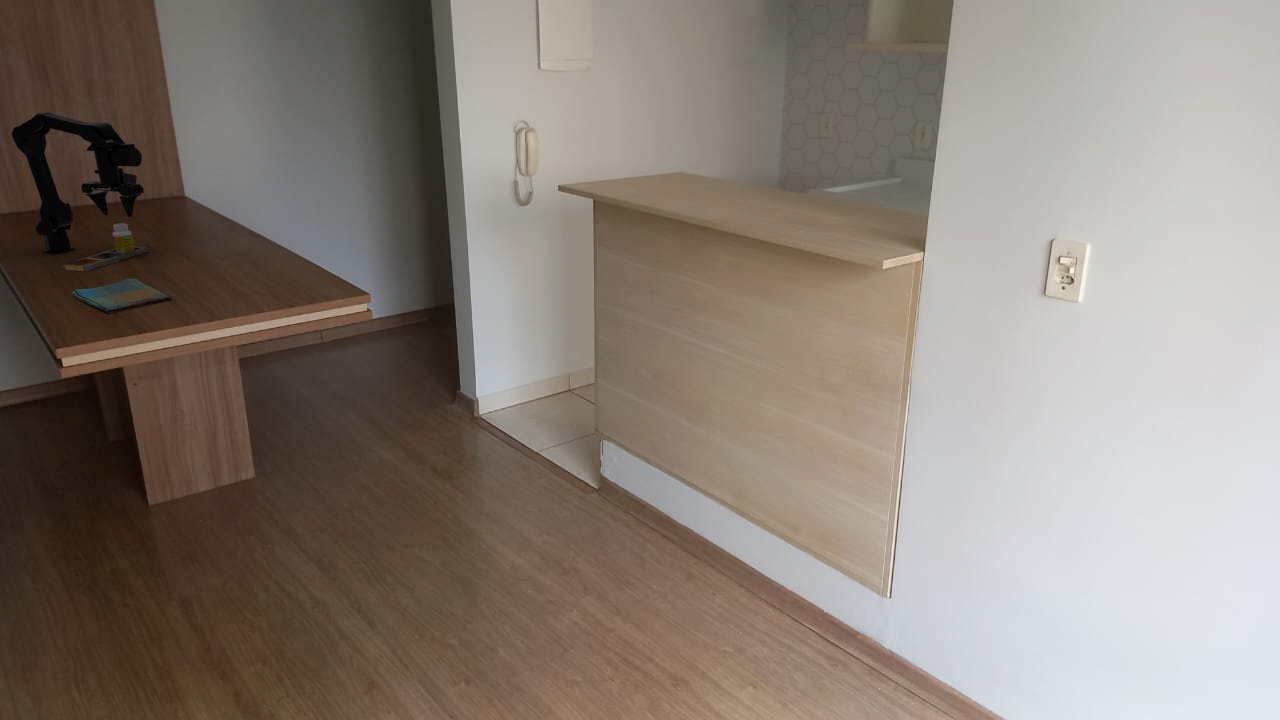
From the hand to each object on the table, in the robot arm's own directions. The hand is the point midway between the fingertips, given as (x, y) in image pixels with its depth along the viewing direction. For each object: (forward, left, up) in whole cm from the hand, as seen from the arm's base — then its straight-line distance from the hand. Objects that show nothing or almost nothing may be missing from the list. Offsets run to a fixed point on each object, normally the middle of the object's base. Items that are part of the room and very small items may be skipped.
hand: (118, 215), depth 284 cm
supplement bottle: (0, 0, -13) cm, 13 cm away
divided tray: (0, -8, -12) cm, 15 cm away
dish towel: (+35, -38, -13) cm, 53 cm away
